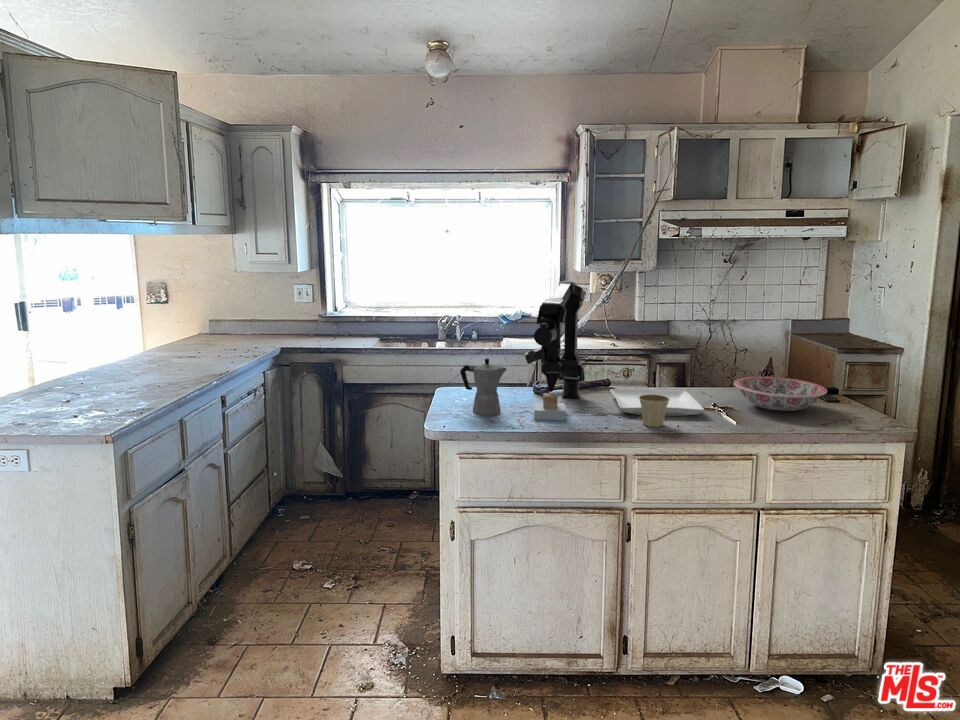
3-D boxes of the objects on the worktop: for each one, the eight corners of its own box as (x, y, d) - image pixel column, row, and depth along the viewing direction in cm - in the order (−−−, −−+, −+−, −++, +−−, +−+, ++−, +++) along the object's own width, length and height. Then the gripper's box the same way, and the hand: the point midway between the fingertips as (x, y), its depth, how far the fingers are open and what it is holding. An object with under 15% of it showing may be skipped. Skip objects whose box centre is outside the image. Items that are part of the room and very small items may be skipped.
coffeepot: (506, 408, 234) (507, 356, 230) (506, 415, 224) (507, 361, 221) (461, 407, 234) (461, 355, 231) (459, 414, 225) (459, 360, 222)
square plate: (704, 419, 222) (705, 408, 221) (619, 418, 224) (620, 406, 223) (685, 399, 249) (686, 389, 248) (609, 397, 250) (609, 387, 250)
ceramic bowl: (741, 394, 255) (742, 373, 254) (828, 405, 241) (830, 382, 239) (724, 411, 231) (726, 388, 229) (820, 425, 216) (823, 400, 215)
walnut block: (543, 404, 226) (543, 393, 226) (556, 405, 226) (557, 393, 225) (543, 408, 222) (543, 396, 221) (557, 408, 222) (557, 396, 221)
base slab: (534, 411, 230) (534, 402, 229) (564, 412, 229) (564, 403, 228) (534, 419, 220) (534, 410, 219) (565, 420, 219) (565, 411, 219)
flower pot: (646, 430, 209) (648, 402, 208) (631, 421, 218) (633, 395, 217) (674, 427, 212) (675, 400, 210) (658, 419, 221) (659, 393, 219)
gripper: (526, 336, 229) (525, 381, 232) (525, 345, 211) (524, 394, 214) (560, 336, 229) (559, 382, 231) (562, 346, 210) (560, 395, 213)
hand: (550, 388), depth 223 cm, fingers open, 9 cm apart
